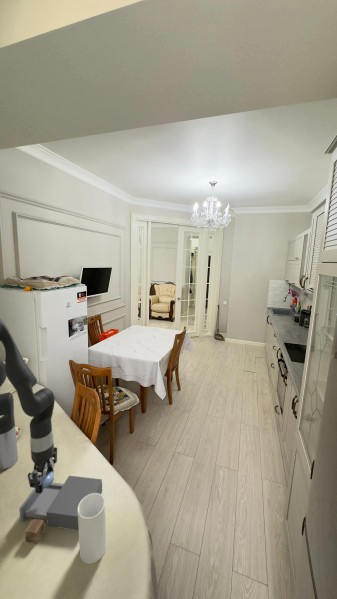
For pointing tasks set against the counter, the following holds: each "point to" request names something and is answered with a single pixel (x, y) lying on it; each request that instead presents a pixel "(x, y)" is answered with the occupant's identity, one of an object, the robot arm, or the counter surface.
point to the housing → (71, 501)
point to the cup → (92, 527)
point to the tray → (39, 502)
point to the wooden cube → (34, 531)
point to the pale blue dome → (47, 479)
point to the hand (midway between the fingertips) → (45, 484)
